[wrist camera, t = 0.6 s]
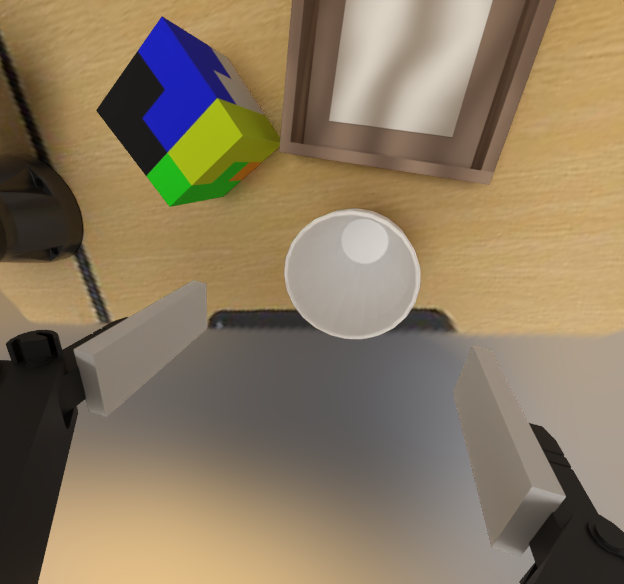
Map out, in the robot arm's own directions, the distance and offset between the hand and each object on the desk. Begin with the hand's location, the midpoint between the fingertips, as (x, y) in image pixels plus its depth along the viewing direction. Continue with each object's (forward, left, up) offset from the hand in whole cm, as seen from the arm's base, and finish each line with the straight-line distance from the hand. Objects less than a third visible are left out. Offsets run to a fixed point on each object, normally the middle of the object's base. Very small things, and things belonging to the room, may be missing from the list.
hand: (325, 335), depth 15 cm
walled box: (0, +17, -23) cm, 28 cm away
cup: (0, 0, -23) cm, 23 cm away
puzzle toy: (-18, +9, -23) cm, 30 cm away
